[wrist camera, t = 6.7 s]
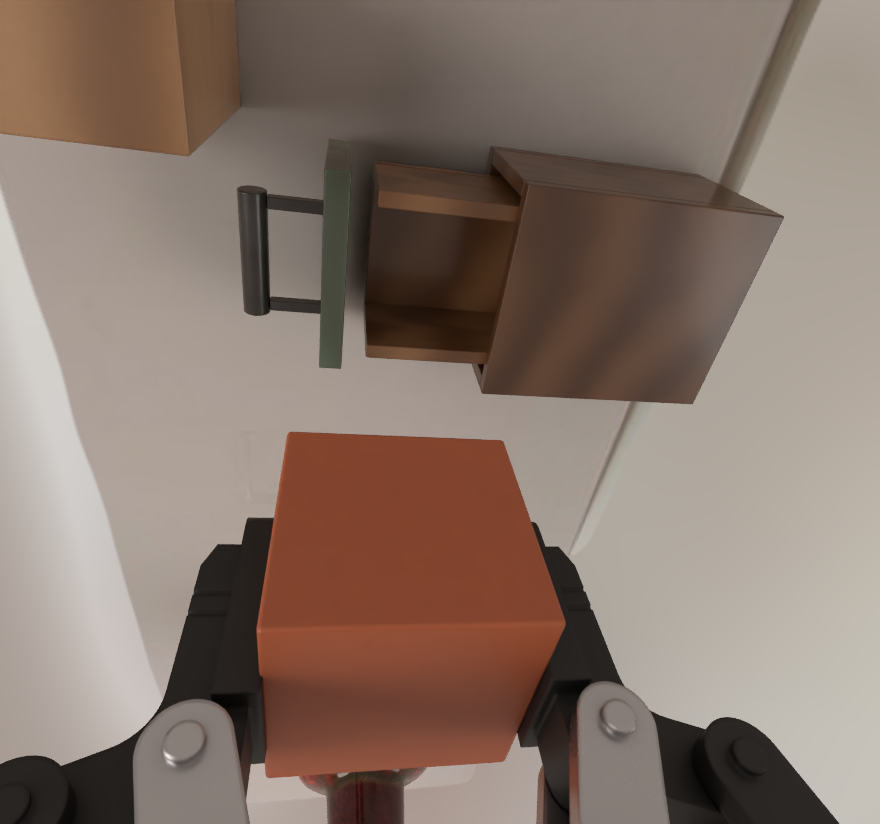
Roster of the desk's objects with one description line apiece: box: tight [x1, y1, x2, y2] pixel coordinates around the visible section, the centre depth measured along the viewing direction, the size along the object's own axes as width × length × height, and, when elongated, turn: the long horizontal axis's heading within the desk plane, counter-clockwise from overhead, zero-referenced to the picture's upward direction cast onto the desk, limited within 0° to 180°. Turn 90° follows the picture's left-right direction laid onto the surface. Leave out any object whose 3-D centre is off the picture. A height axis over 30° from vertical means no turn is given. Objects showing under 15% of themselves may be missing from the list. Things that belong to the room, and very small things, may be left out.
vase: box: [299, 767, 427, 824], centre depth 49 cm, size 11×11×20 cm
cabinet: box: [472, 146, 784, 404], centre depth 34 cm, size 14×12×9 cm
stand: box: [0, 0, 241, 156], centre depth 22 cm, size 7×7×12 cm
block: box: [256, 432, 566, 778], centre depth 11 cm, size 4×4×4 cm
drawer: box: [237, 139, 521, 369], centre depth 31 cm, size 17×10×7 cm, turn 82°
